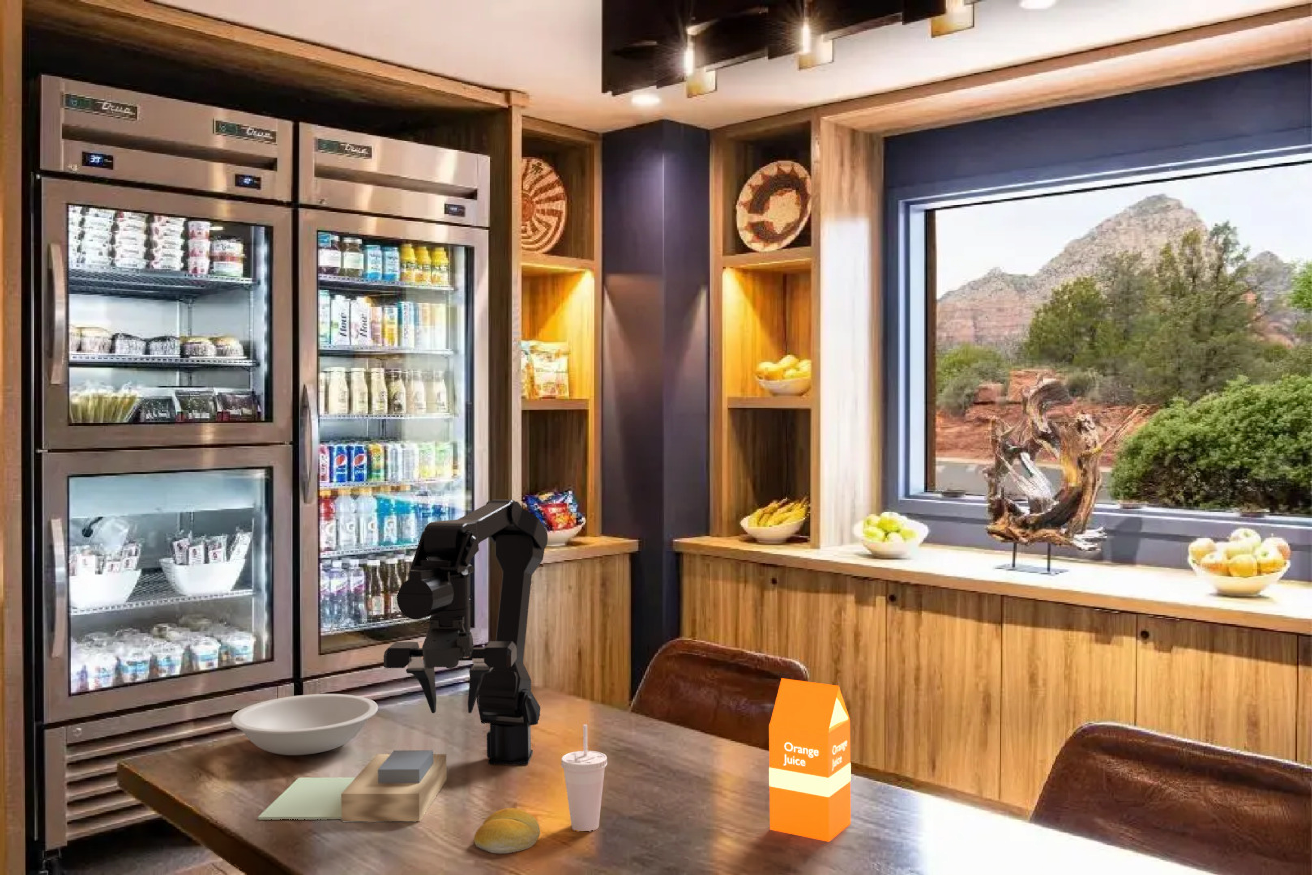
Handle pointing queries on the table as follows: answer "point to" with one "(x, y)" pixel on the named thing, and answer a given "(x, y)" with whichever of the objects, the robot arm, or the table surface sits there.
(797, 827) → the orange juice
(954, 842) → the table surface
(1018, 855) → the table surface
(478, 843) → the bread roll
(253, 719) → the soup bowl
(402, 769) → the grey bevelled block
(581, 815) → the smoothie
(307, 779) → the mat
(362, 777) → the wooden block
